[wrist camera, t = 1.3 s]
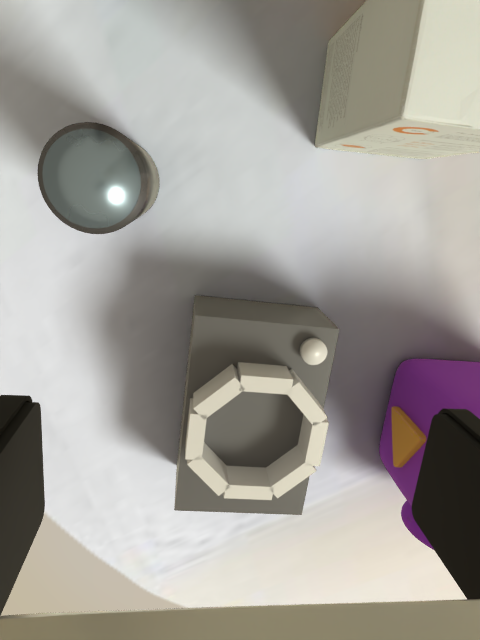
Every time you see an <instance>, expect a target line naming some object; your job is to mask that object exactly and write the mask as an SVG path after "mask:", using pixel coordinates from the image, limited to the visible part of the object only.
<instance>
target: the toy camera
mask: <svg viewBox="0 0 480 640" xmlns="http://www.w3.org/2000/svg"><path fill="white" fill-rule="evenodd" d="M443 408H445V409H467V410H469V411H470V412H472V413H473V414H474V415H475V416H477V417H478V418H479V419H480V362H468V361H453V360H437V359H409V360H405V361H403V362H402V363H401V364H400V365H399V367H398V369H397V371H396V374H395V378H394V381H393V386H392V390H391V394H390V399H389V403H388V407H387V412H386V416H385V421H384V425H383V430H382V434H381V439H380V446H379V454H380V457H381V460H382V462H383V464H384V466H385V467H386V469H387V471H388V472H389V474H390V475H391V477H392V478H393V480H394V481H395V483H396V485H397V486H398V488H399V489H400V491H401V492H402V494H403V495H404V496H405V498H406V499H407V501H406V502H405V503H404V505H403V507H402V510H401V516H402V520H403V522H404V524H405V526H406V527H407V529H408V530H409V531H410V532H411V533H412V534H413V535H414V536H415V537H416V538H417V539H418V540H420V541H421V542H422V543H424V544H425V545H427V546H428V547H430V548H432V549H433V547H432V546H431V544H430V543H429V541H428V540H427V538H426V537H425V535H424V534H423V532H422V531H421V529H420V528H419V526H418V525H417V523H416V522H415V520H414V518H413V515H412V501H413V497H414V493H415V489H416V484H417V480H418V476H419V472H420V467H421V463H422V459H423V455H424V450H425V446H426V442H427V438H428V434H429V429H430V425H431V421H432V418H433V416H434V415H436V414H438V413H439V412H440V410H442V409H443Z"/></svg>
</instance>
